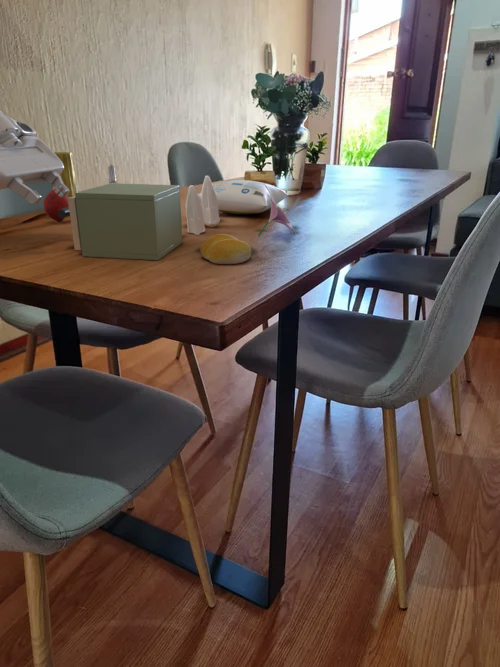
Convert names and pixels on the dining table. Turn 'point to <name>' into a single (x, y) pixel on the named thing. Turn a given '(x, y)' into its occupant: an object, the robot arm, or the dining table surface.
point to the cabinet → (129, 220)
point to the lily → (277, 216)
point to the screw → (112, 174)
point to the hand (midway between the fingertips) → (52, 197)
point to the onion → (55, 205)
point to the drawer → (72, 221)
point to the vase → (68, 172)
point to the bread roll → (225, 249)
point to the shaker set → (202, 208)
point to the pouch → (246, 196)
